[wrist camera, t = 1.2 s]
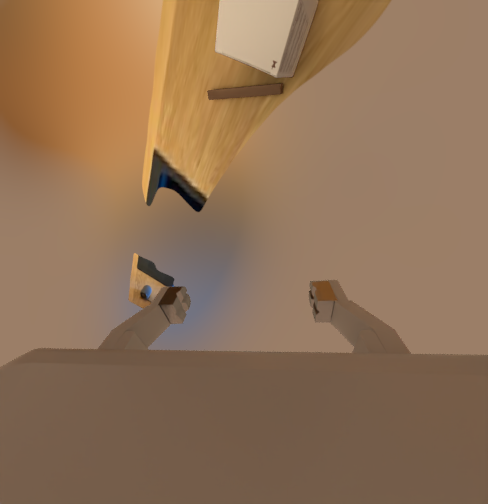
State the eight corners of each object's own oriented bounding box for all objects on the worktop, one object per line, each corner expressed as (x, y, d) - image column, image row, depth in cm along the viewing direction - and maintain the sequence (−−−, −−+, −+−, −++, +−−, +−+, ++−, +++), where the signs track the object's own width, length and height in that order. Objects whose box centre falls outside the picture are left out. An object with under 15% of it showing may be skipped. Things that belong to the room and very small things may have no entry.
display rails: (196, -28, 30) (187, -35, 28) (291, -56, 26) (288, -67, 24) (214, 98, 41) (208, 99, 39) (282, 93, 37) (280, 94, 35)
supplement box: (320, -1, 28) (319, -52, 17) (293, 78, 35) (279, 80, 23) (264, -24, 28) (225, -91, 17) (248, 59, 35) (212, 52, 23)
